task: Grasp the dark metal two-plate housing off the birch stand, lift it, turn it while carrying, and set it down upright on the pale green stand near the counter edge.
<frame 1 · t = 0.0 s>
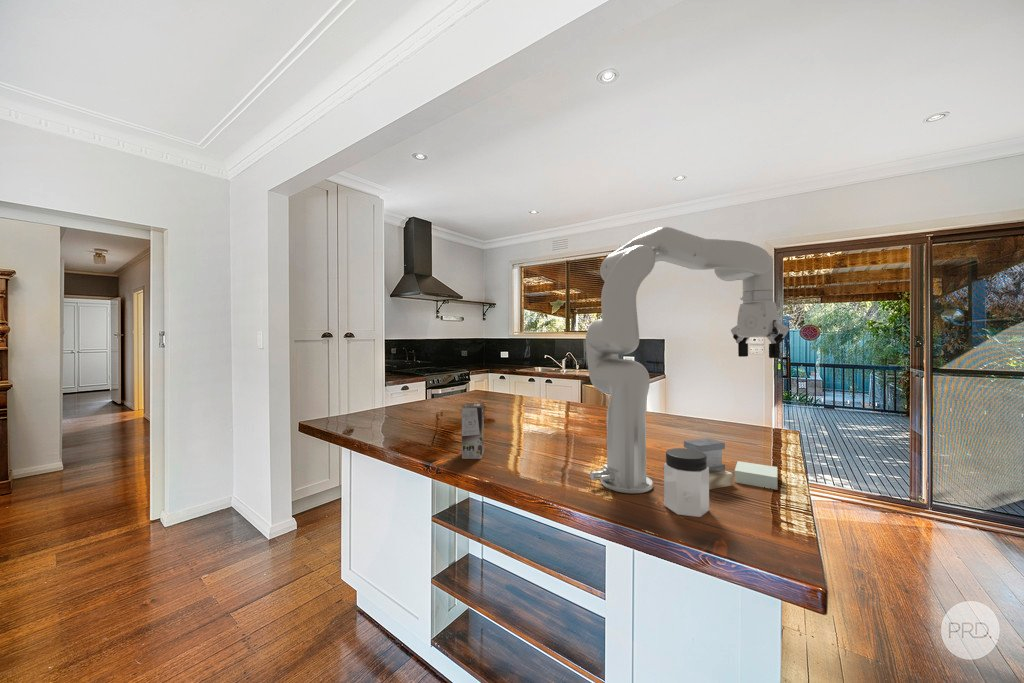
hand: (758, 357, 111), 31 cm above the table, tool pointing down, fingers open, 9 cm apart
coffee box: (473, 455, 124), on the table
jar: (686, 509, 83), on the table
stand B: (756, 480, 99), on the table
housing: (704, 469, 99), point 3 cm above the table, touching stand A
stand A: (704, 481, 99), on the table
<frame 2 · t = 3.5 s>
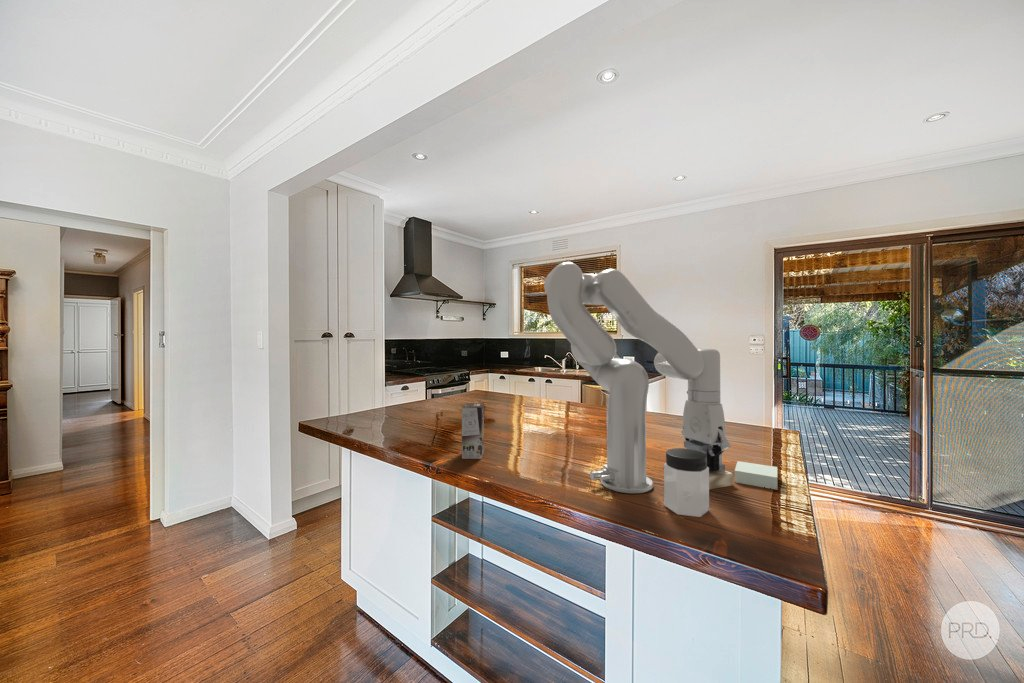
hand: (704, 466, 99), 4 cm above the table, tool pointing down, fingers closed on housing, 5 cm apart
housing: (704, 469, 99), point 3 cm above the table, touching gripper, stand A
everything else where it was.
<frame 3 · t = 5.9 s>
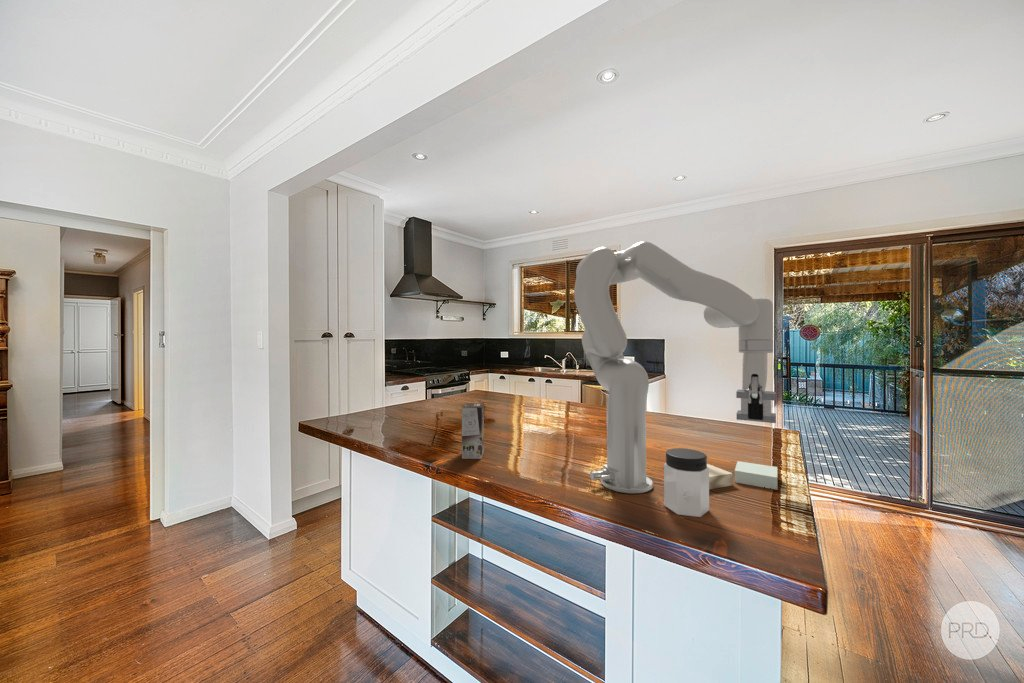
hand: (755, 416, 99), 17 cm above the table, tool pointing down, fingers closed on housing, 5 cm apart
housing: (756, 419, 99), point 16 cm above the table, touching gripper
everything else where it was.
when the fingers open (5 cm above the table, at t = 8.3 s): housing stays where it is, resting on stand B.
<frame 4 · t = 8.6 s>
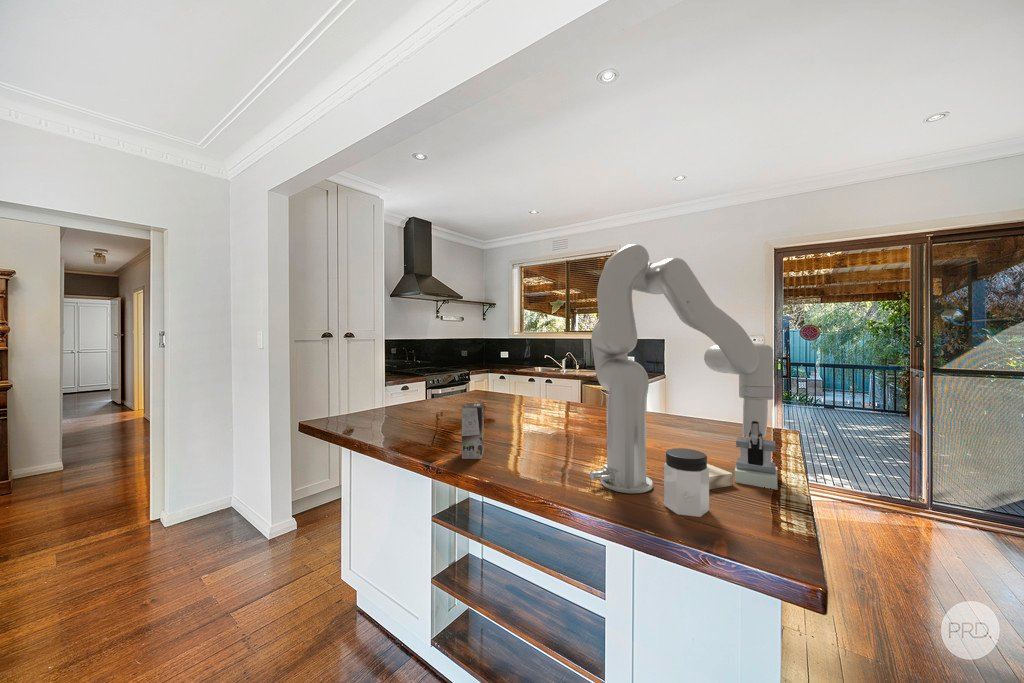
hand: (756, 459, 99), 5 cm above the table, tool pointing down, fingers open, 8 cm apart
housing: (755, 468, 99), point 3 cm above the table, touching stand B
everything else where it was.
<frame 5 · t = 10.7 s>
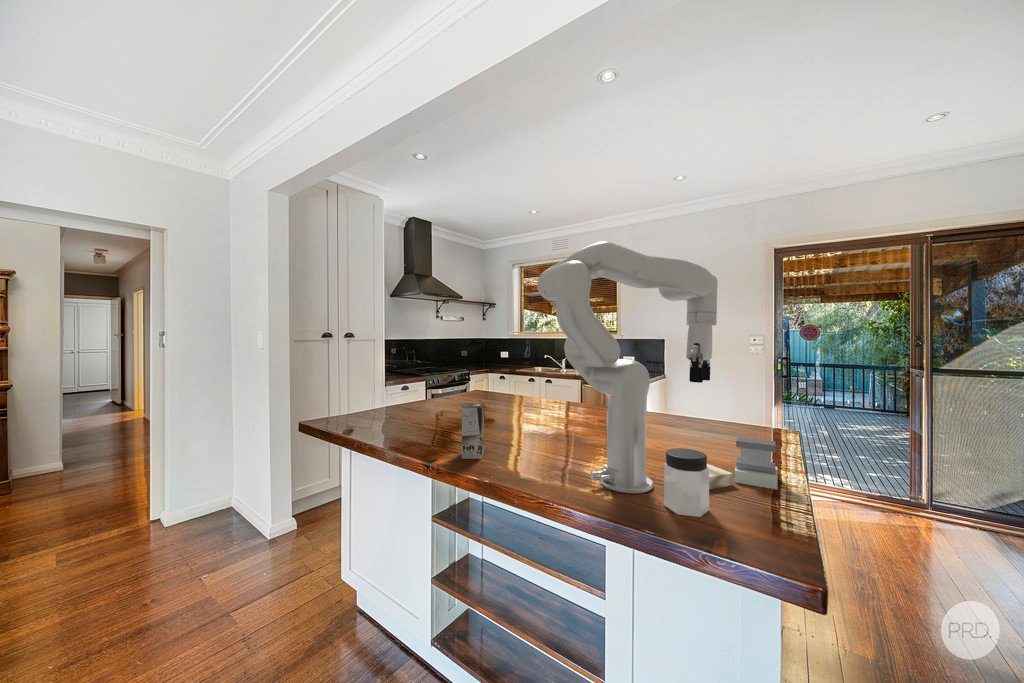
hand: (700, 381, 107), 25 cm above the table, tool pointing down, fingers open, 9 cm apart
nothing on the table moved.
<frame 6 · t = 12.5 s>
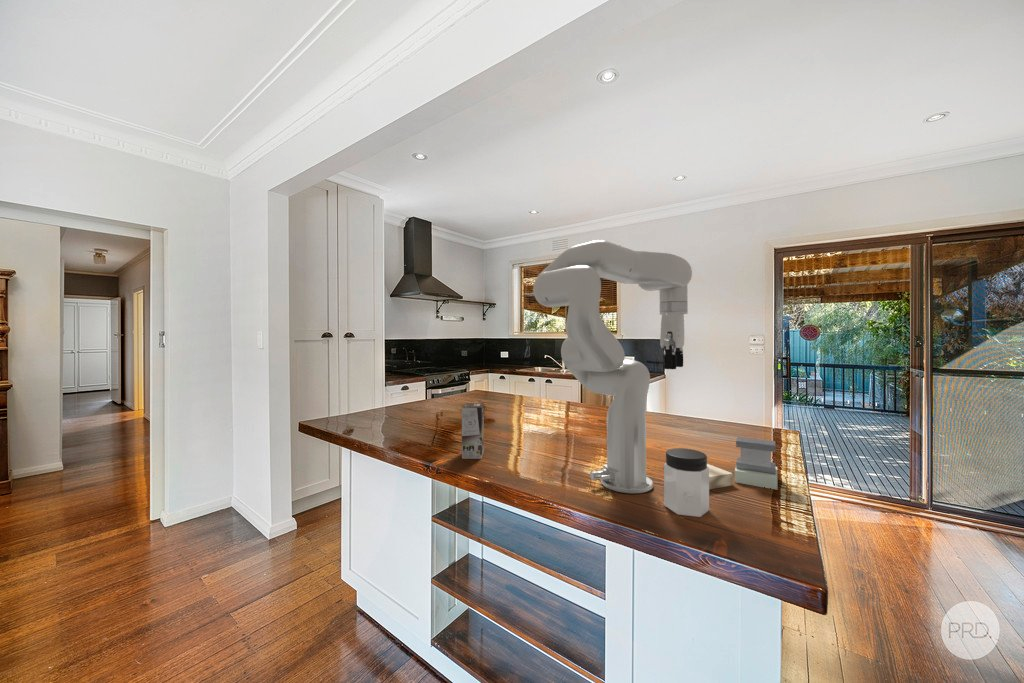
hand: (673, 367, 112), 28 cm above the table, tool pointing down, fingers open, 9 cm apart
nothing on the table moved.
at the end: housing 0.1 cm off-centre on the stand B, point 3.0 cm above the stand B's base; housing tilted 0°; the gripper is holding nothing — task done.
